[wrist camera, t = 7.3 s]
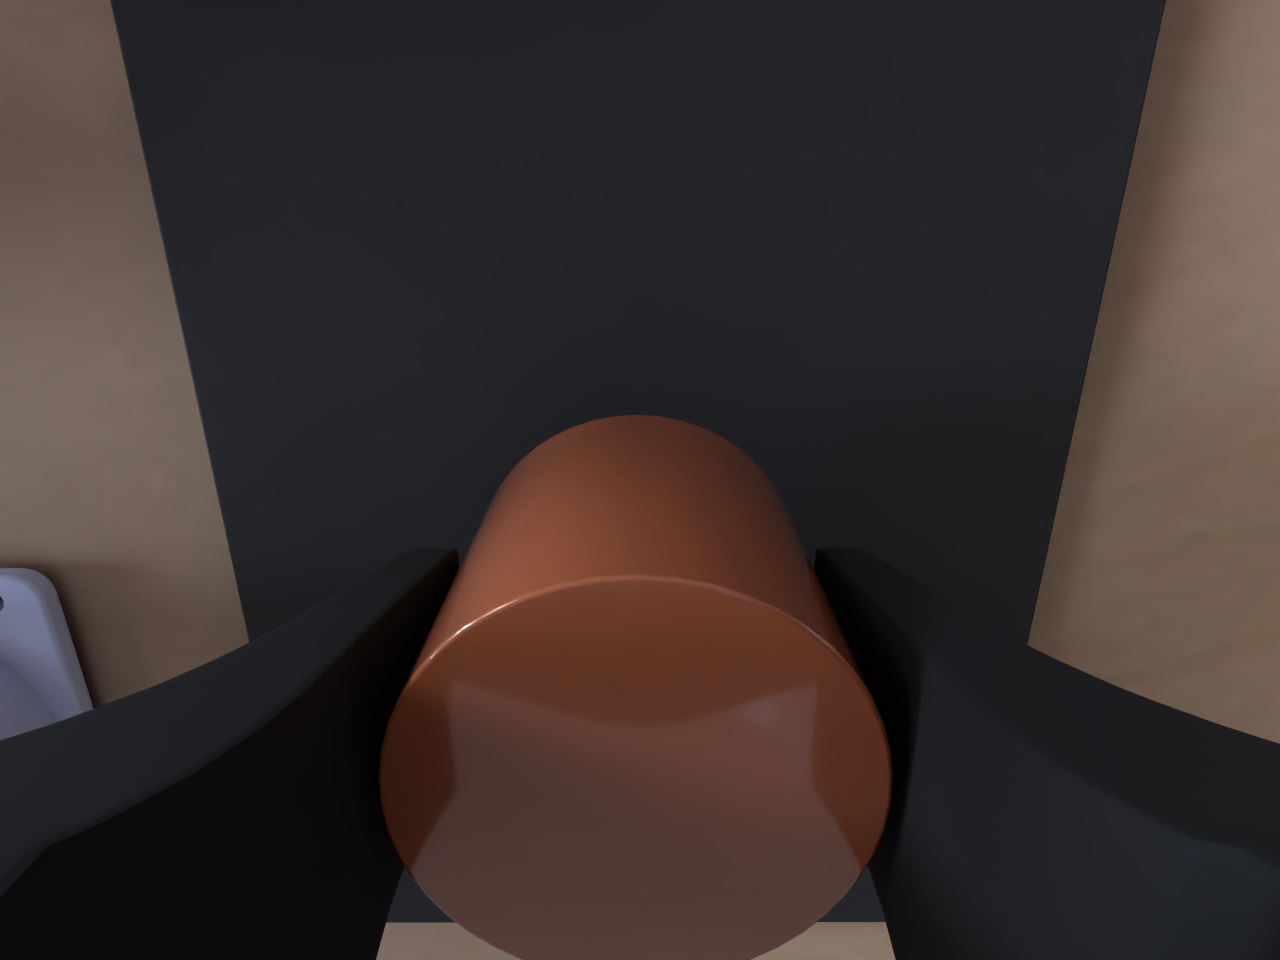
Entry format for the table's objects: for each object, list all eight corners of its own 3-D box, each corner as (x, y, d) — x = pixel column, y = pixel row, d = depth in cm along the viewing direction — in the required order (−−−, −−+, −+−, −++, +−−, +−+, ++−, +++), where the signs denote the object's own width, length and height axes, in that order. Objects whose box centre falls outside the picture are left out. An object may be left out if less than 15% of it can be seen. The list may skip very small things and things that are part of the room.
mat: (316, 907, 18) (309, 923, 17) (93, -155, 10) (72, -168, 10) (961, 907, 18) (968, 923, 17) (1183, -154, 10) (1204, -168, 10)
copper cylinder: (491, 695, 13) (407, 983, 8) (467, 414, 11) (340, 576, 6) (783, 695, 13) (864, 982, 8) (807, 413, 11) (928, 577, 6)
